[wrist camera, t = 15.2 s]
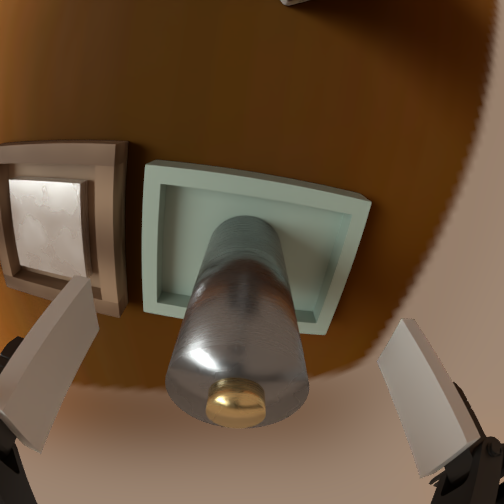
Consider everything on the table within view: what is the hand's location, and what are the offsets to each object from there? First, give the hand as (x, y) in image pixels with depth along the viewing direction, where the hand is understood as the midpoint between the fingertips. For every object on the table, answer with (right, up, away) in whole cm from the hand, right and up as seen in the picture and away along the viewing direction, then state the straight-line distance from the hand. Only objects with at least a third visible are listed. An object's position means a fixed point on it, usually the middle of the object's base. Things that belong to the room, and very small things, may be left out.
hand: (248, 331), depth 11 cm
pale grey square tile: (-14, +5, +6) cm, 16 cm away
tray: (0, +3, +8) cm, 9 cm away
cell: (0, +3, +7) cm, 8 cm away
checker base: (-14, +5, +7) cm, 17 cm away
